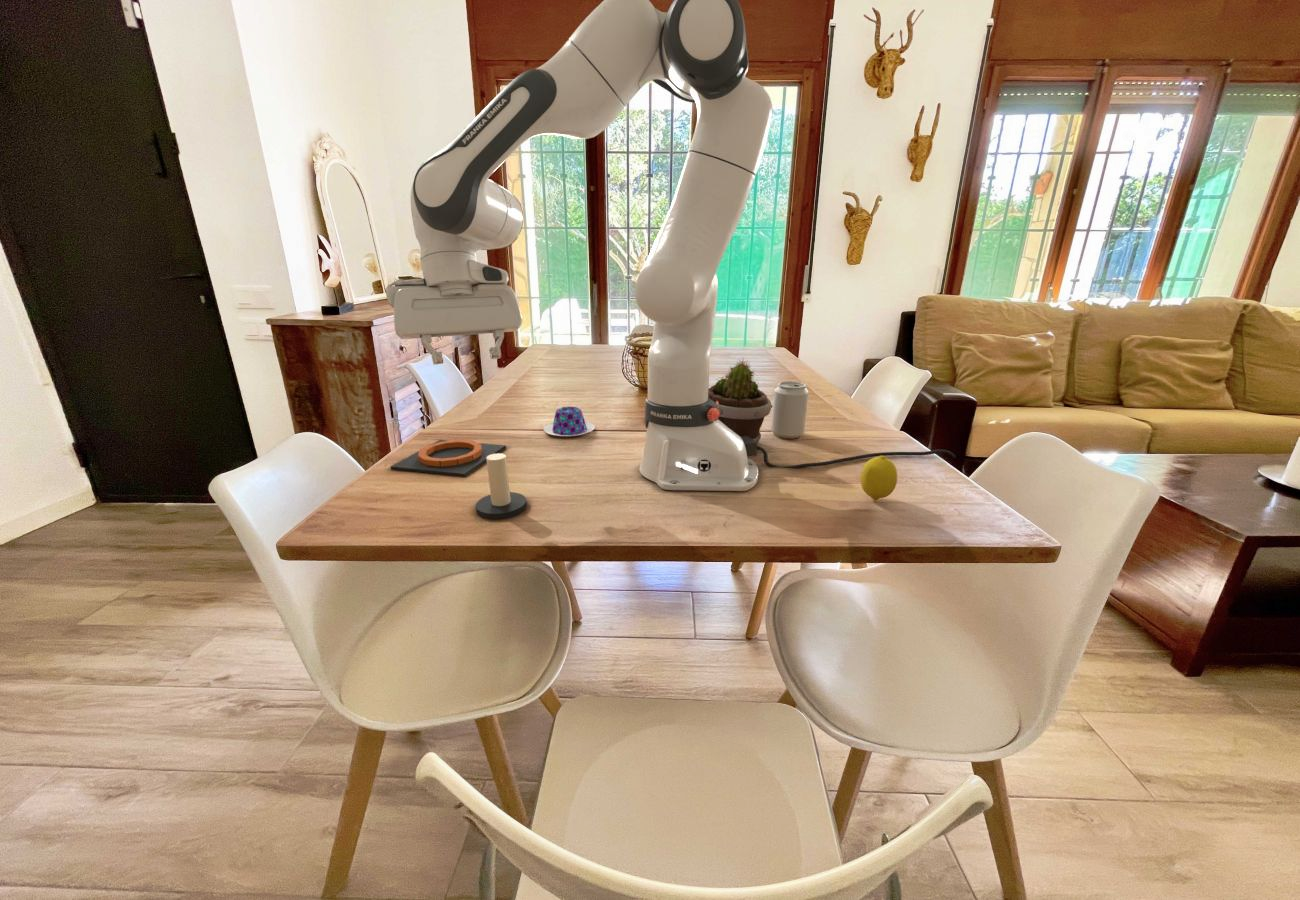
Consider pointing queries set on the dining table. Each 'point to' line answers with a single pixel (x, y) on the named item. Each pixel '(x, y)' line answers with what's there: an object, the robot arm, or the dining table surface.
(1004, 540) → the dining table surface
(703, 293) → the robot arm
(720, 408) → the flowerpot
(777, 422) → the can
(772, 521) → the dining table surface
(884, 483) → the lemon
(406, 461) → the base pad
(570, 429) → the pudding
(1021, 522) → the dining table surface
